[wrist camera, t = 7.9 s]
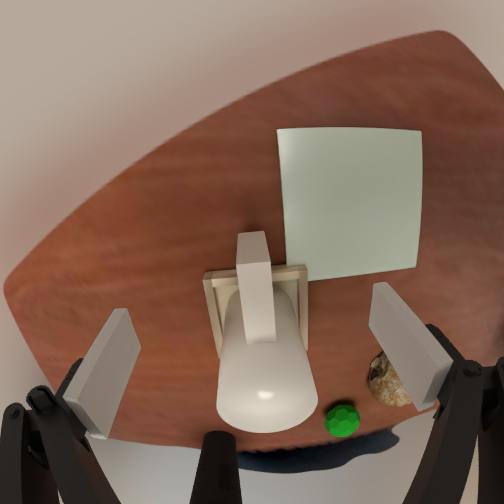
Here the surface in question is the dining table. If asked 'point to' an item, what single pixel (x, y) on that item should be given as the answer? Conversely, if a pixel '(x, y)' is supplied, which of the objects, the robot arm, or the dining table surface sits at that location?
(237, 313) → the white cylinder with tab
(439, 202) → the dining table surface
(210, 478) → the drinking cup
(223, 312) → the holder
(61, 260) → the dining table surface
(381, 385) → the bread roll
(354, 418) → the polyhedron
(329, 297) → the dining table surface
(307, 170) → the plate
